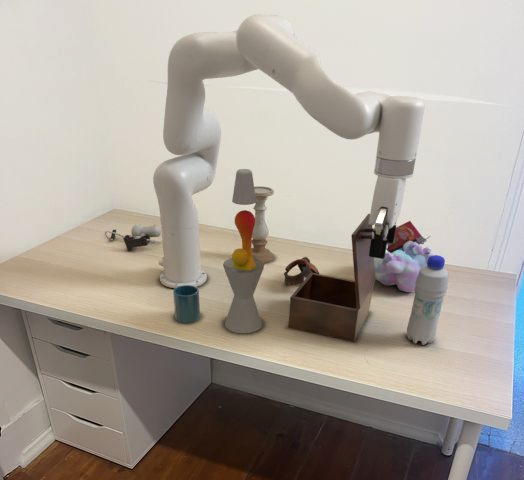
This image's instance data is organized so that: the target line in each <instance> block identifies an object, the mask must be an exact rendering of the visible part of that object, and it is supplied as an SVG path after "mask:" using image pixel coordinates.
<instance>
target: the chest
mask: <svg viewBox="0 0 524 480" xmlns="http://www.w3.org/2000/svg"><path fill="white" fill-rule="evenodd" d="M373 287H374V286H373ZM373 287H372V289H371V290H370V292H369V294H368V296H367V298H366V299H365V301H364V303H363V305H362V307H361V308H360V309H357V307H356V293H355V279H347V278H344V277H338V276H332V275H326V274H321V273H319V274H316V273H310V274H309V275H308V277H307V278H306V277H305V278H304V281H303V283H302V284H299V286H298V287H297V289H296V290H294V292H292V294H291V296H290V297H289V311H288V328H291V329H295V330H299V331H303V332H308V333H312V334H317V335H321V336H326V337H331V338H335V339H341V340H344V341H349V342H353V343H354V342H355V341H356V338H357V337H358V335H359V333H360V331H361V329H362V327H363V325H364V323H365V321H366V319H367V317H368V315H369V313H370V308H371V303H372V301H371V300H372V296H373V295H372V294H373Z"/></svg>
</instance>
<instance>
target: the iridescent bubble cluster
mask: <svg viewBox="0 0 524 480" xmlns="http://www.w3.org/2000/svg"><path fill="white" fill-rule="evenodd" d="M429 238H431V235H428V234H425V235H422V234H421V233H420V232H419V231H418V229H417V228H416V226H415V225H414V224H413V222H412V221H411V220H408V221H406V222H404V223H403V224H400V225H399V226H396V231H395V237H394V242H393V243H387V247H386V253H385V257H384V259H380V258H375V257H374V270H375V281H378V282H380V283H381V284H382V285H383V286H394V285H396V286H397V289H398V290H400V291H402V292H403V293H404V292H405V293H412V292H415V281H416V279H417V276H418V273H419V270H420V269H421V268H422V267H424V266H427V262H428V259H429V257H430V256H433V255H434V254H433V253H431V252H432V249H431V248H430V247H429V246H426V247H423V246H422V245H425V243H426V242H427V240H428V239H429Z"/></svg>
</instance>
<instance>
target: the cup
mask: <svg viewBox="0 0 524 480" xmlns="http://www.w3.org/2000/svg"><path fill="white" fill-rule="evenodd" d="M172 294H173V307H174V317H175V320H176V322H179V323H183V324H191V323H195V322H197V321H199V319H200V318H201V310H200V309H201V305H200V304H201V303H200V289H199V288H198V286H197V287H195V286H191V285H183V286H179V287H176V288H173V291H172Z"/></svg>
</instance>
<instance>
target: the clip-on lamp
mask: <svg viewBox="0 0 524 480" xmlns="http://www.w3.org/2000/svg"><path fill="white" fill-rule="evenodd" d="M107 233H110V234H111V235H110V237H109V236H108V235H107ZM104 236H105V237H106V239H108V240H109V241H113V240H115V237H116V236H119V237H121V238H123V242H124V245H125V247H126V249H127V251H128V252H130V251H132V250H133V249H134V248H140V247H147V246H148V245H149V243H150V242H151V243H155V240H153V239H152V238H159V237H160V236H162V229H161V227H160V226H159V225H148V226H147V225H146V226H144V225H143V224H138V223H137V224H135V225H133V226H132V227H131V232H130V234H125V236H124V235H123V234H121V233H117V228H114V229H112V231H111V230H110V231H109V230H105V231H104Z"/></svg>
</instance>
